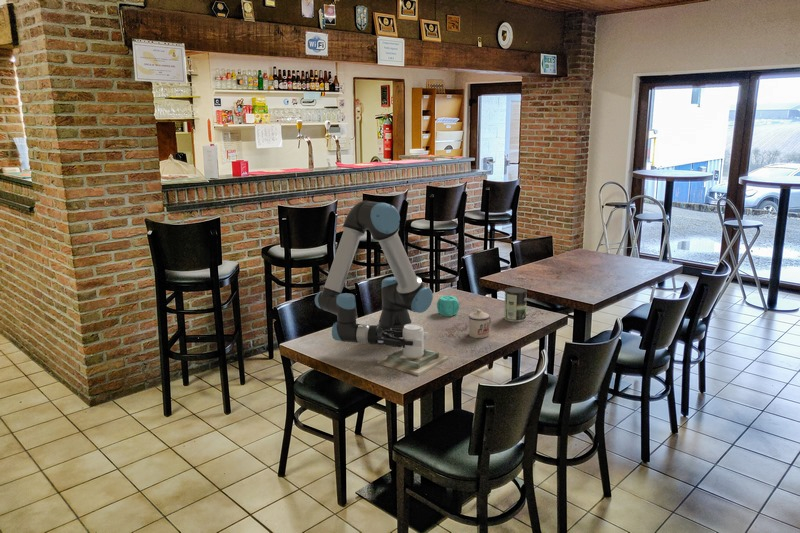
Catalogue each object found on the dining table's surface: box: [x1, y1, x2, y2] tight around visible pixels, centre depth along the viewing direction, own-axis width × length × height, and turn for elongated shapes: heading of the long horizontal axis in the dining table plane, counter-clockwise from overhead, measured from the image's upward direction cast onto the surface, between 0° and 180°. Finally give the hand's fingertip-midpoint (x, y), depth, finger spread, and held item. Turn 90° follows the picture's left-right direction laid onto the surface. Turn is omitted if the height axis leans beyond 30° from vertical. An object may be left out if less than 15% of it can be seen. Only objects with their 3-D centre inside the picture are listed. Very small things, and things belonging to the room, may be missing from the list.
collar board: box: [377, 348, 449, 377], centre depth 240 cm, size 20×20×3 cm
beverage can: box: [402, 323, 425, 358], centre depth 239 cm, size 8×8×12 cm
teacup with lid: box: [468, 308, 492, 339], centre depth 268 cm, size 12×9×12 cm
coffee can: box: [503, 286, 528, 323], centre depth 288 cm, size 10×10×14 cm
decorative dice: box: [436, 295, 460, 317], centre depth 297 cm, size 8×8×8 cm
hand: (424, 339), depth 237 cm, fingers closed on beverage can, 8 cm apart
